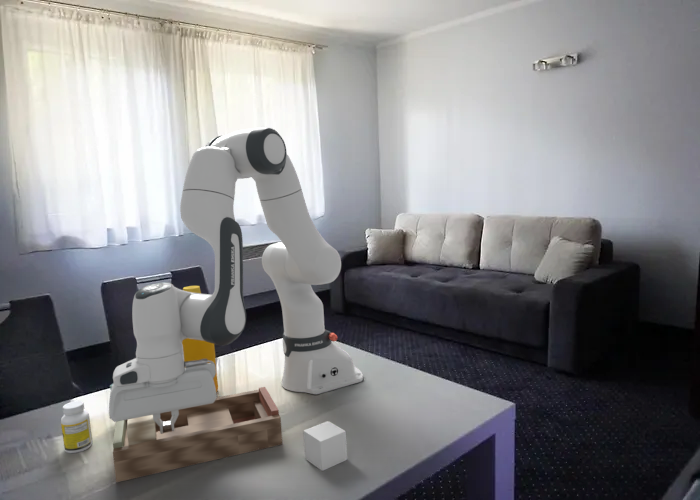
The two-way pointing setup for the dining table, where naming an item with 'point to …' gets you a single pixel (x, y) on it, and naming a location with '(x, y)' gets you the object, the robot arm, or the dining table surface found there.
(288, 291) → the robot arm
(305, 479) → the dining table surface
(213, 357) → the beer bottle
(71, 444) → the supplement bottle
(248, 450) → the tray
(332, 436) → the white cube
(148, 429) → the ash block
